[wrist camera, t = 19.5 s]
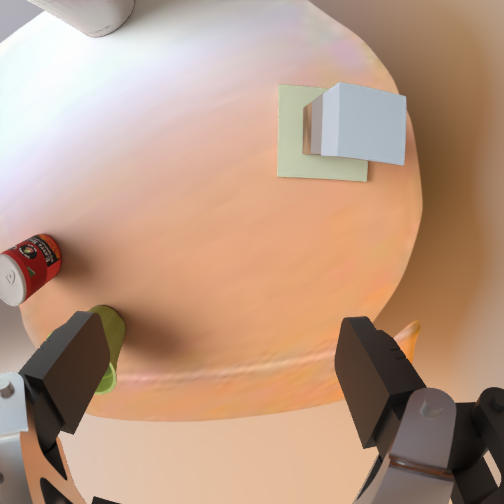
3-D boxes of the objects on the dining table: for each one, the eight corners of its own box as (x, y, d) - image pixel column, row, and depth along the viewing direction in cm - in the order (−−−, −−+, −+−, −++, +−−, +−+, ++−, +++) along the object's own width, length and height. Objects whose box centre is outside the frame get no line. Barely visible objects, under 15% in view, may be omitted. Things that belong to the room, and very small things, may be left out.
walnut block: (303, 108, 33) (311, 101, 28) (348, 112, 33) (362, 107, 28) (302, 154, 35) (311, 154, 30) (347, 157, 35) (361, 158, 30)
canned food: (69, 250, 39) (29, 278, 29) (54, 286, 41) (18, 317, 31) (38, 223, 37) (-6, 243, 27) (25, 259, 39) (-14, 284, 29)
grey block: (312, 101, 28) (323, 92, 23) (362, 108, 28) (381, 101, 24) (310, 153, 30) (322, 153, 25) (361, 158, 30) (380, 160, 25)
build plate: (278, 86, 33) (279, 84, 32) (365, 96, 33) (368, 94, 32) (277, 176, 37) (277, 176, 36) (363, 181, 37) (366, 181, 36)
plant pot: (67, 298, 42) (32, 333, 31) (121, 286, 41) (90, 325, 30) (96, 354, 46) (71, 395, 35) (150, 348, 45) (130, 394, 34)
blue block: (323, 93, 23) (339, 81, 19) (381, 103, 24) (406, 96, 19) (320, 155, 25) (337, 156, 21) (378, 162, 26) (404, 165, 21)
